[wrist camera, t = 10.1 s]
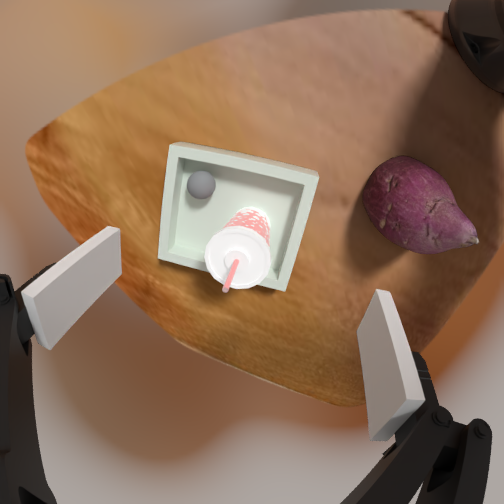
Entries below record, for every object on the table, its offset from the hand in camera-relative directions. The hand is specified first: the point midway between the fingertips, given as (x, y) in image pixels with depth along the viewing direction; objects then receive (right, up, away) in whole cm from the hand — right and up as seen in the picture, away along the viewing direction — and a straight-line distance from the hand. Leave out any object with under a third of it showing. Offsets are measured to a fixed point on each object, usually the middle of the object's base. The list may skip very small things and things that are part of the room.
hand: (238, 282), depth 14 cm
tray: (-1, +6, +21) cm, 22 cm away
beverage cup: (+1, +5, +21) cm, 22 cm away
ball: (-5, +9, +19) cm, 22 cm away
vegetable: (+19, +8, +18) cm, 27 cm away
